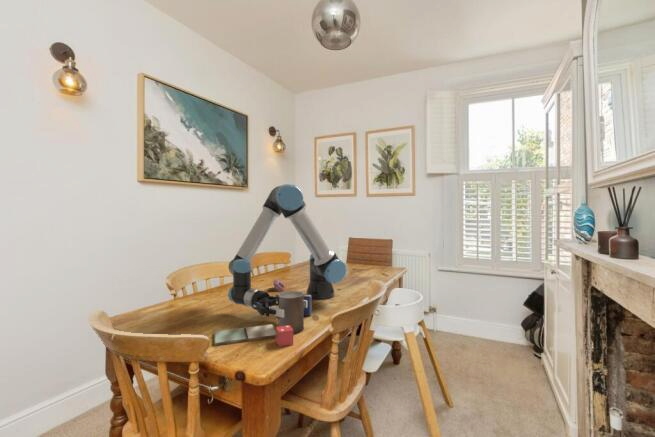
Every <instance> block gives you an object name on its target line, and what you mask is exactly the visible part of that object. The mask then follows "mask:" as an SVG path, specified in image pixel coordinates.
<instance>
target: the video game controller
mask: <svg viewBox="0 0 655 437" xmlns="http://www.w3.org/2000/svg"><path fill="white" fill-rule="evenodd" d="M273 287H274V288H275V289H276V291H279V292H284V287H285V285H284V283H283V282H282V281H280V280H279V279H274V280H273Z"/></svg>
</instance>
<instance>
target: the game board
mask: <svg viewBox="0 0 655 437" xmlns="http://www.w3.org/2000/svg"><path fill="white" fill-rule="evenodd" d="M275 338H276V327H275V325H274V324H272V323H271V324H262V325H254V326H248V327H239V328H233V329H225V330H218V331H214V332H213V346H214V347H218V346H224V345H231V344H233V345H234V344H238V343H239V344H240V343H245V342H246V343H247V342H252V341H258V340H267V339H275Z"/></svg>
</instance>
